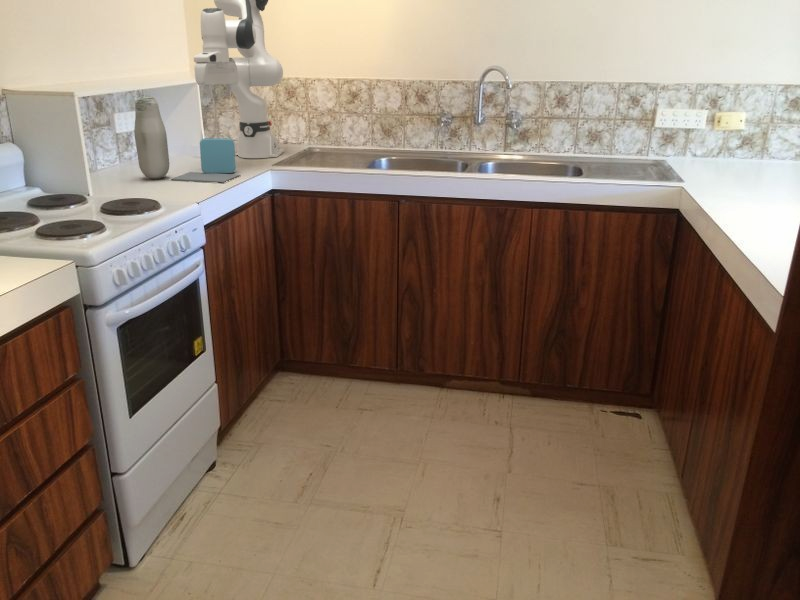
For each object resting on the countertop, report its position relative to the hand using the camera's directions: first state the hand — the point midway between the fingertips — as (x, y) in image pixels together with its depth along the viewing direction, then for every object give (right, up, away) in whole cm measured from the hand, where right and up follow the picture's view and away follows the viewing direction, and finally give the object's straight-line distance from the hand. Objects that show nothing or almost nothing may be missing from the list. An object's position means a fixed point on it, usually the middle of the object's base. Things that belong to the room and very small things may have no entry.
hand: (219, 97), depth 244 cm
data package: (-1, -27, +2) cm, 27 cm away
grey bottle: (-21, -31, -7) cm, 38 cm away
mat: (-3, -30, -6) cm, 31 cm away
